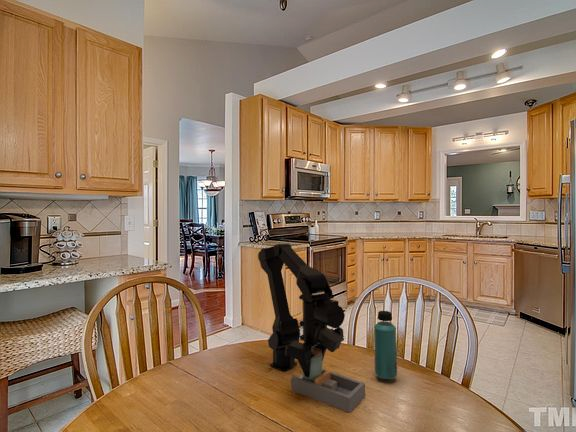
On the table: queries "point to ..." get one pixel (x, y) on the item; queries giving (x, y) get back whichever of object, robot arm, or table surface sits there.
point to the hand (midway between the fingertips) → (313, 372)
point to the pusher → (326, 381)
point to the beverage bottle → (385, 347)
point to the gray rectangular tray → (332, 391)
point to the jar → (315, 365)
